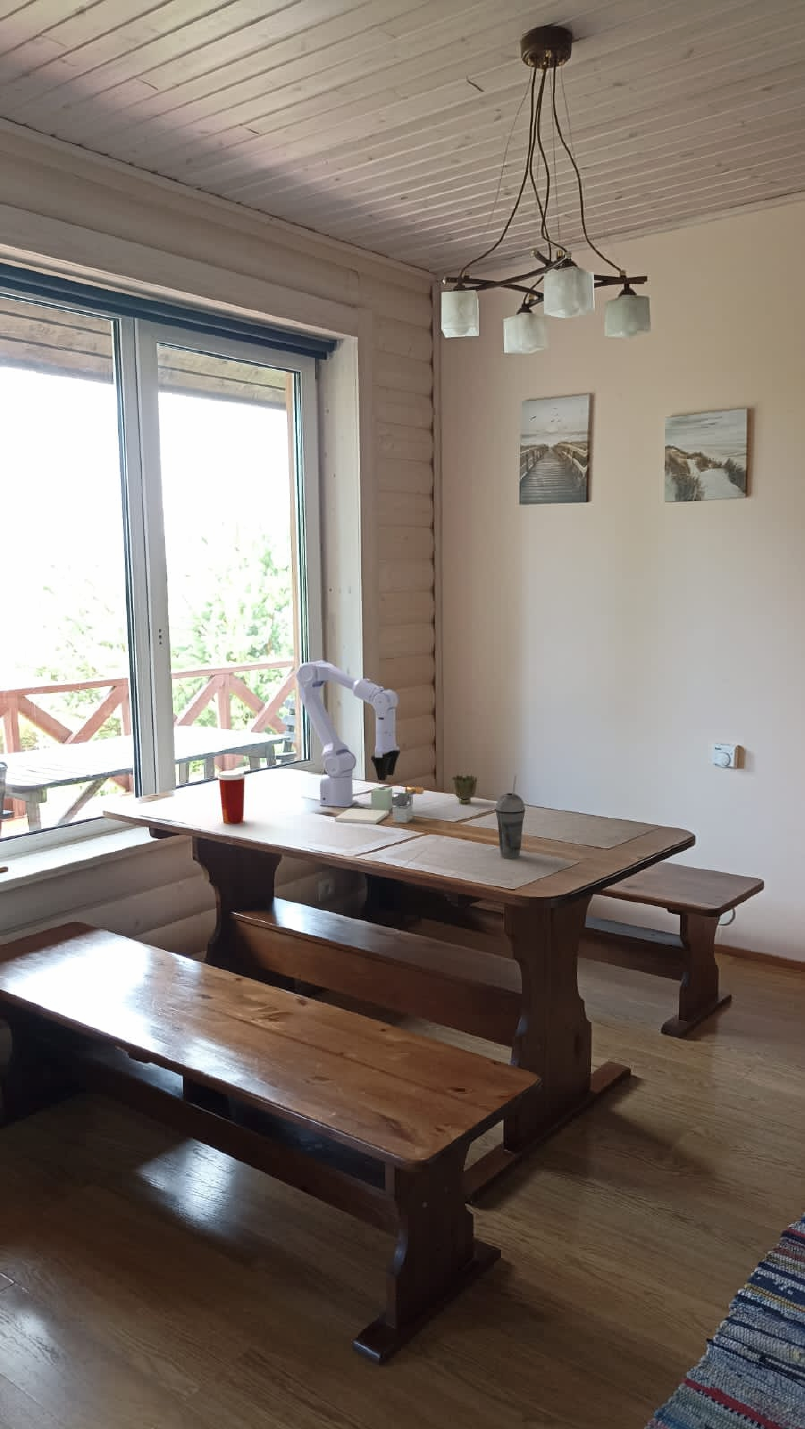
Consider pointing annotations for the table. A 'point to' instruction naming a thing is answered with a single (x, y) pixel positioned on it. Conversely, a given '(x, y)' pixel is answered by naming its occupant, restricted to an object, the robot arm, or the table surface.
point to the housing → (381, 798)
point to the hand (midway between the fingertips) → (385, 777)
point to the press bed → (362, 816)
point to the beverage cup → (510, 823)
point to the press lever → (405, 796)
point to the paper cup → (232, 796)
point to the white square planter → (403, 812)
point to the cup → (464, 788)
